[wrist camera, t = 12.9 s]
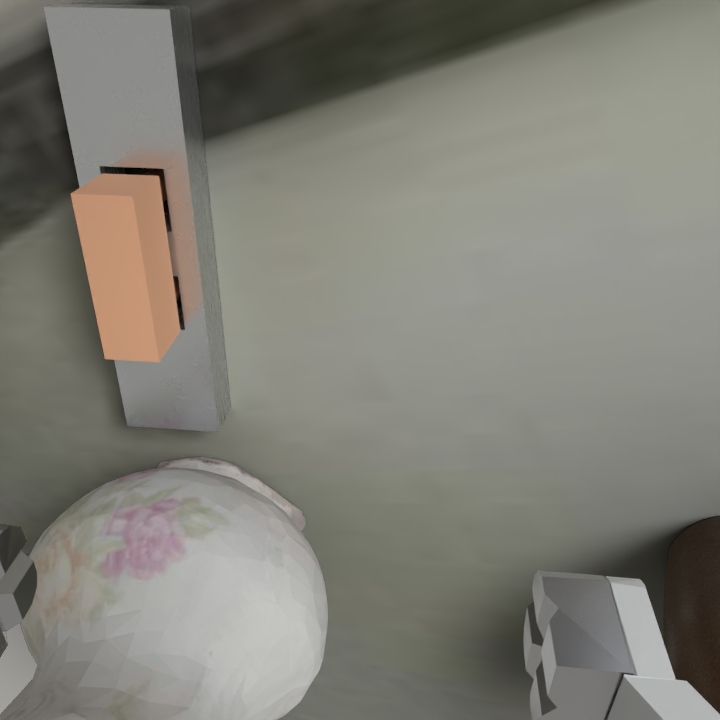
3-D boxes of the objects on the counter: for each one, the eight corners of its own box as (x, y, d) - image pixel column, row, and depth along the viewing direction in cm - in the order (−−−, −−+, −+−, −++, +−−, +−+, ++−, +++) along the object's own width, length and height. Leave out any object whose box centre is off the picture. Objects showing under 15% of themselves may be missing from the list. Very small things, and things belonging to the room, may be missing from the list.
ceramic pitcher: (198, 627, 60) (96, 1007, 39) (9, 503, 52) (-243, 898, 31) (388, 522, 52) (386, 935, 31) (197, 355, 44) (24, 761, 23)
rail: (72, 3, 34) (43, 6, 31) (189, 5, 34) (169, 9, 31) (144, 399, 46) (127, 425, 44) (230, 405, 46) (218, 432, 43)
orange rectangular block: (128, 156, 38) (70, 193, 32) (181, 158, 38) (132, 196, 32) (151, 302, 42) (104, 359, 36) (198, 304, 42) (159, 362, 36)
